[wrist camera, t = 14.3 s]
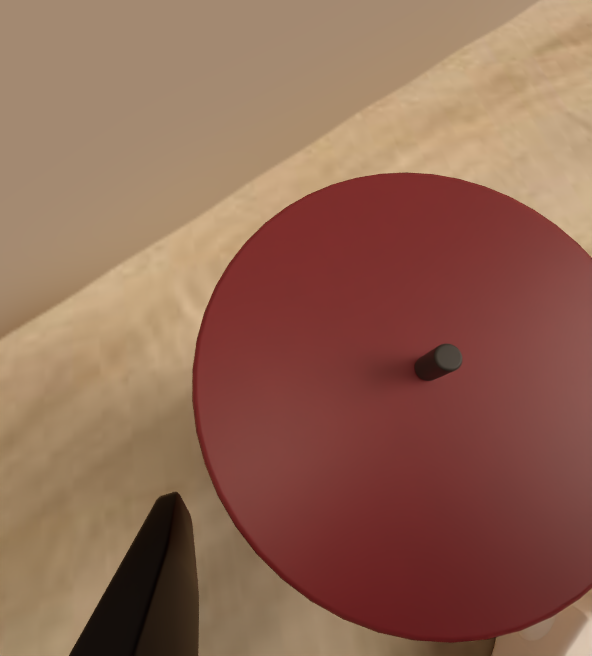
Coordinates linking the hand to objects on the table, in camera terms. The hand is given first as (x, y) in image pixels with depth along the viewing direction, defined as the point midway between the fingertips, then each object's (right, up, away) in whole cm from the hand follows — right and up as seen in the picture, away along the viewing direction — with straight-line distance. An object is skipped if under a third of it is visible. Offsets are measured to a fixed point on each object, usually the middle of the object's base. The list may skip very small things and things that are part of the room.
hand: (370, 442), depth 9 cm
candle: (0, -1, +8) cm, 8 cm away
